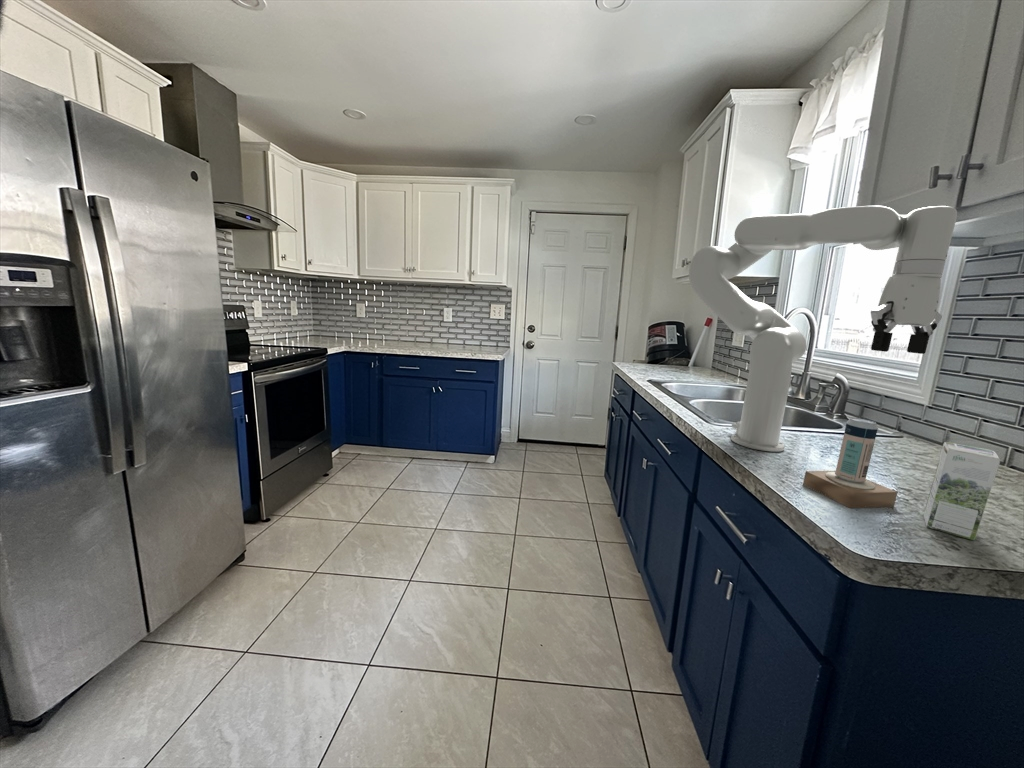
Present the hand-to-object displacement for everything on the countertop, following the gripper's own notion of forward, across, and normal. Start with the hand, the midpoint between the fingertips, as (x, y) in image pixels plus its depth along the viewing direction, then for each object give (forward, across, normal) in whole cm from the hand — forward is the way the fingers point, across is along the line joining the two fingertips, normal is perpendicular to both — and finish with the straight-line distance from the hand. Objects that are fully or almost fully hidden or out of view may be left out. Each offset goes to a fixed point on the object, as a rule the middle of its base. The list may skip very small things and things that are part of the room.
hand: (897, 351), depth 88 cm
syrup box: (+28, +12, +23) cm, 38 cm away
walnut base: (+28, +18, +10) cm, 35 cm away
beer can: (+25, +18, +10) cm, 32 cm away
